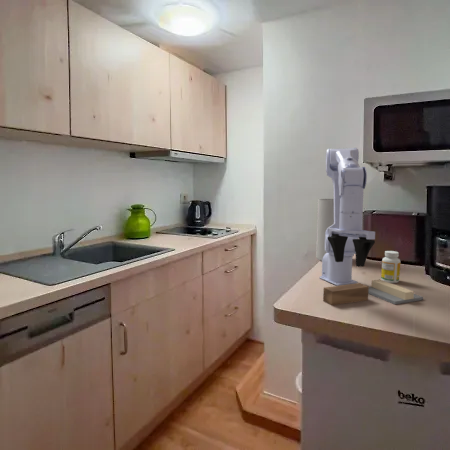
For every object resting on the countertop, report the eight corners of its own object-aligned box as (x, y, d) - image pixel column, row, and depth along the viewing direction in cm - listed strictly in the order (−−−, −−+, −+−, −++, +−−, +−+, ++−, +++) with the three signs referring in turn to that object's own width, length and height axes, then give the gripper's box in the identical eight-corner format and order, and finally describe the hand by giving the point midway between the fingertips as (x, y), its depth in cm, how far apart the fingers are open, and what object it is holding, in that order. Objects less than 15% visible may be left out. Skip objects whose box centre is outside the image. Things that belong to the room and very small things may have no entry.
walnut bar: (323, 301, 91) (323, 287, 90) (358, 296, 95) (359, 283, 94) (331, 306, 88) (331, 291, 87) (367, 300, 92) (368, 286, 91)
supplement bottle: (386, 283, 106) (388, 253, 105) (377, 278, 112) (379, 250, 111) (402, 283, 107) (404, 253, 106) (392, 278, 112) (394, 250, 111)
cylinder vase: (309, 257, 143) (311, 199, 140) (332, 255, 148) (334, 198, 145) (330, 264, 132) (332, 200, 129) (354, 261, 137) (357, 199, 134)
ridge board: (361, 290, 99) (362, 281, 99) (387, 287, 103) (388, 278, 102) (394, 304, 88) (395, 294, 88) (422, 299, 91) (423, 289, 91)
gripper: (320, 212, 94) (319, 260, 95) (360, 213, 81) (358, 269, 81) (340, 212, 97) (338, 259, 97) (382, 213, 83) (379, 267, 84)
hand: (349, 264), depth 90 cm, fingers open, 7 cm apart
